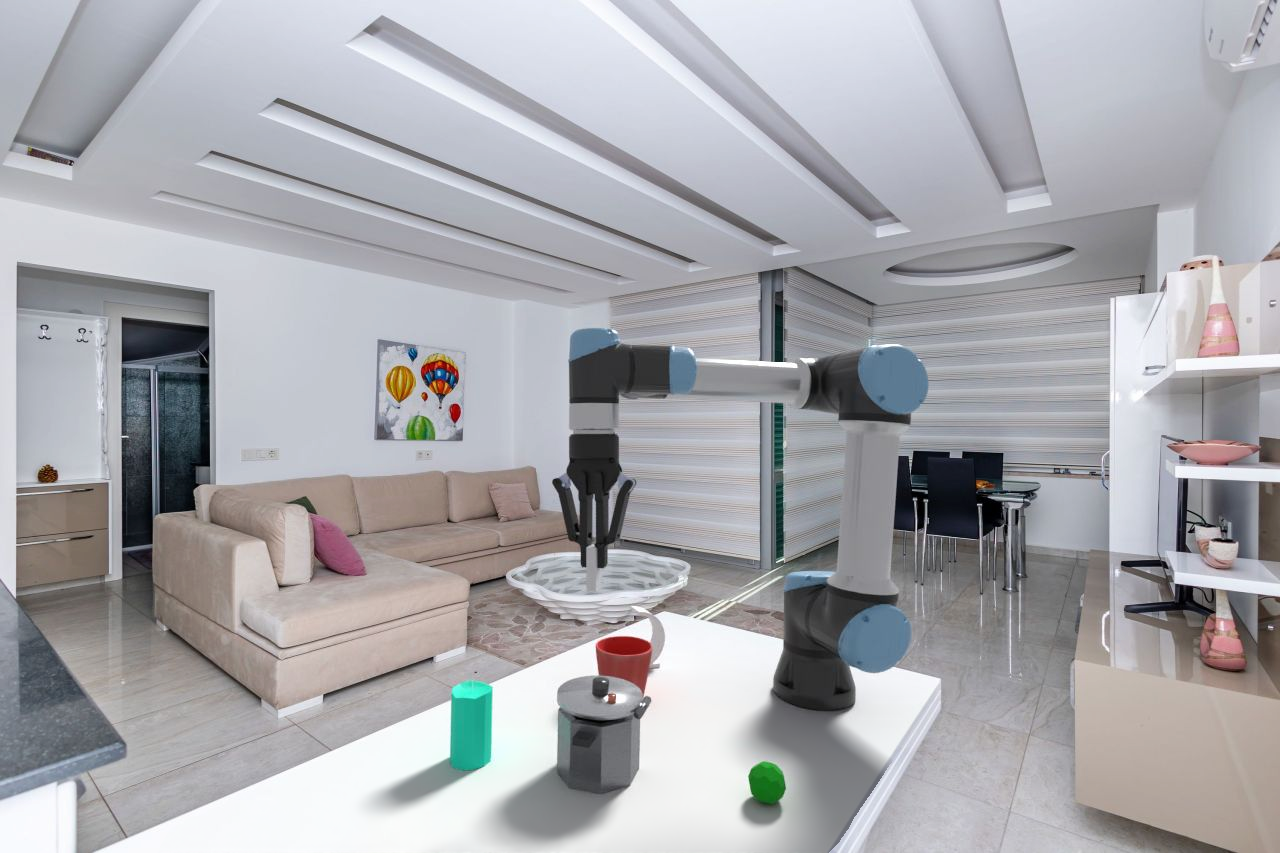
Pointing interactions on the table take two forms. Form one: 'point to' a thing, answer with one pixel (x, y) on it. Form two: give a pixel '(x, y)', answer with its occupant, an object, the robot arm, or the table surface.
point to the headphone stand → (653, 635)
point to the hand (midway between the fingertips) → (594, 588)
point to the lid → (602, 698)
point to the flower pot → (625, 659)
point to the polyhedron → (767, 782)
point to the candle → (471, 725)
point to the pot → (597, 752)
